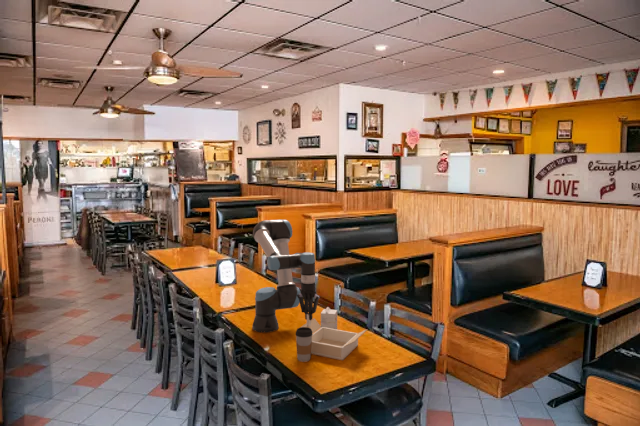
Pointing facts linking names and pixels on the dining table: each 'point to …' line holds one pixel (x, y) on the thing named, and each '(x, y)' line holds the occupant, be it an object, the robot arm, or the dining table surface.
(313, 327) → the flap
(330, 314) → the tissue box
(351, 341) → the flap
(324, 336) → the carton
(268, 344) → the dining table surface
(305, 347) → the coffee cup
